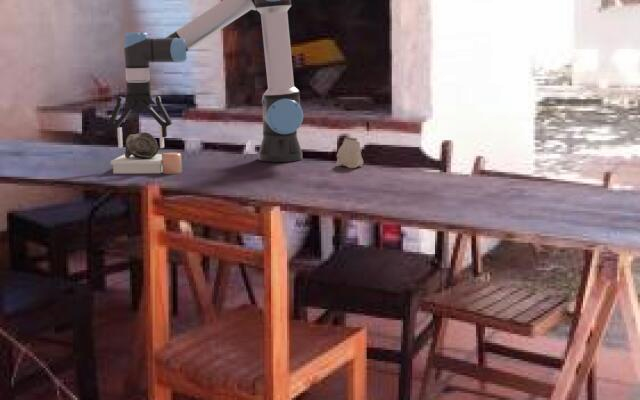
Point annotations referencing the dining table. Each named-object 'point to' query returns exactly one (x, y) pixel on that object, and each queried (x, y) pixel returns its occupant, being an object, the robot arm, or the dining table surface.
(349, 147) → the beige rough lump
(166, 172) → the peach rounded glossy part
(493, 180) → the dining table surface
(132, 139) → the fossil
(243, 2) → the robot arm
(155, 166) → the stand
